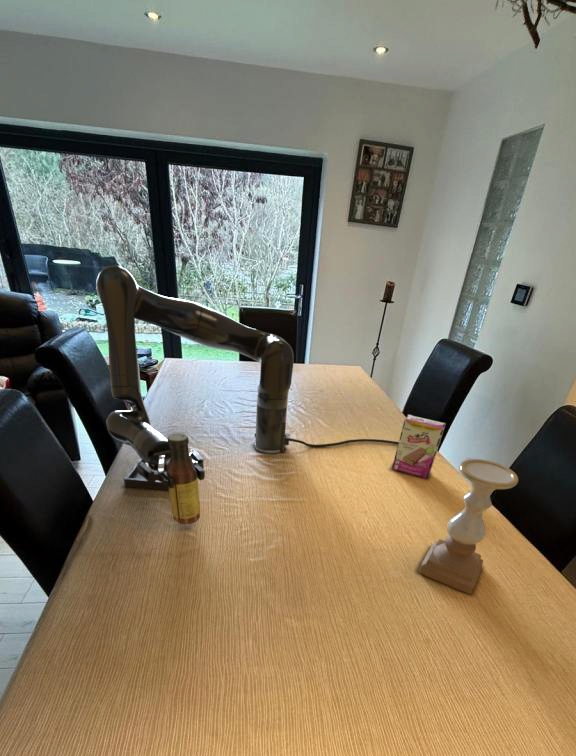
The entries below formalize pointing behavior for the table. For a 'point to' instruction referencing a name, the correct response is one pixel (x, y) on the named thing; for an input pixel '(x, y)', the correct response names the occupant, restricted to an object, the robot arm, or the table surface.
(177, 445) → the sauce bottle
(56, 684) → the table surface
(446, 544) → the candle holder
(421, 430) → the candy bar box
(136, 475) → the dark square tray
